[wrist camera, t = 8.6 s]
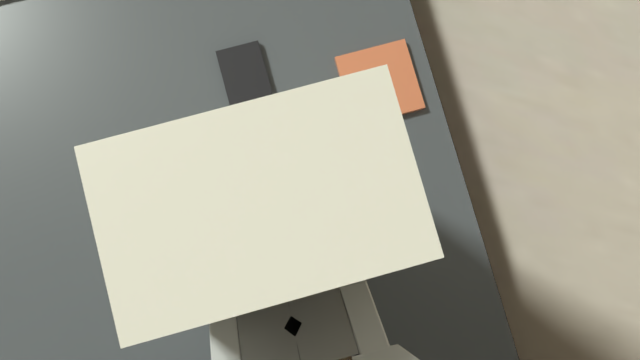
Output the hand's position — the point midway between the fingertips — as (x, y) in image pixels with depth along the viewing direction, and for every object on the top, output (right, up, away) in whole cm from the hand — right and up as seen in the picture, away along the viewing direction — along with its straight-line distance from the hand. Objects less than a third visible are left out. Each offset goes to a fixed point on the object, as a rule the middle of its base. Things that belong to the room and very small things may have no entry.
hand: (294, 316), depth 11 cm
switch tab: (0, +1, +4) cm, 4 cm away
